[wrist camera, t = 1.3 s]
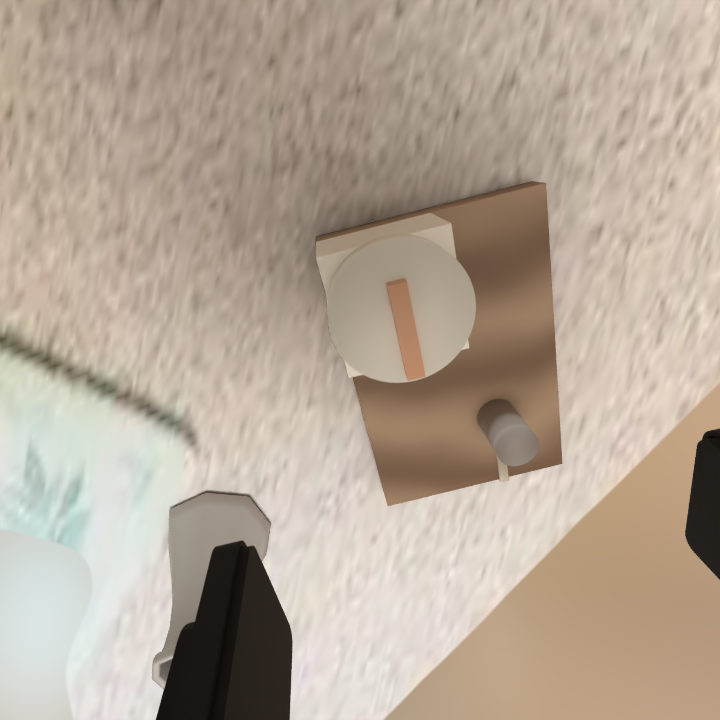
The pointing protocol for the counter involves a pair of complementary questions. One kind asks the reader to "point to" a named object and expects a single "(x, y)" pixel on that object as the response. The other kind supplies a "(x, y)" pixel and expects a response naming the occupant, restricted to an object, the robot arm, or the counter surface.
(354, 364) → the knob
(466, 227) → the hub board
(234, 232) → the counter surface
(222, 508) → the flask
